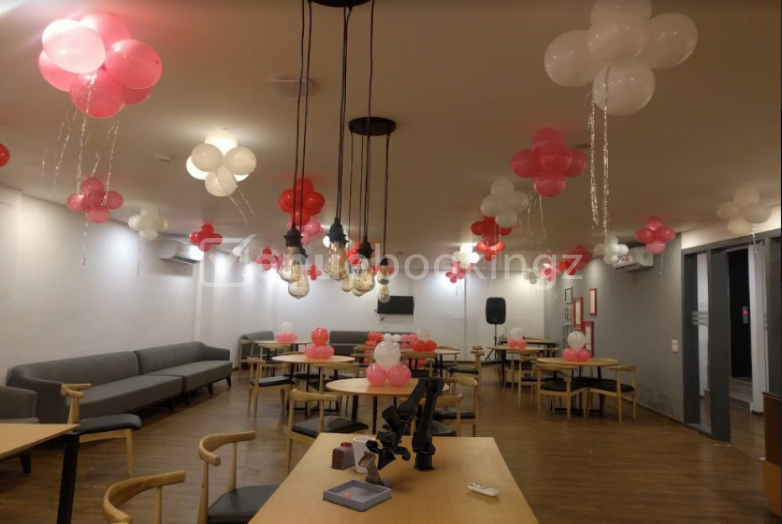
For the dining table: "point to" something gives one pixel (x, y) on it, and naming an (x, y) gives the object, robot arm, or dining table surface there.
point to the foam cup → (360, 451)
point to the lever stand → (380, 481)
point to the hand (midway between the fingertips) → (378, 469)
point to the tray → (357, 494)
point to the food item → (343, 456)
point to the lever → (370, 466)
